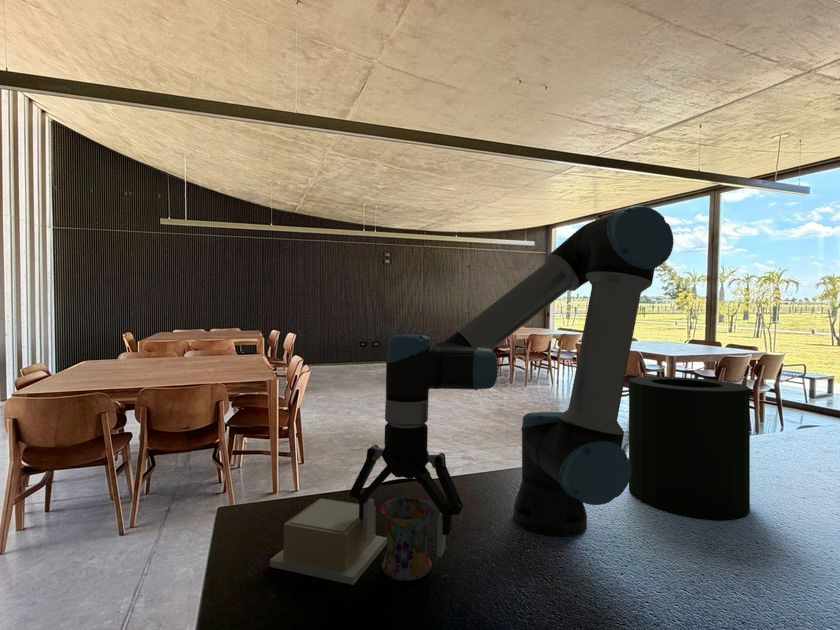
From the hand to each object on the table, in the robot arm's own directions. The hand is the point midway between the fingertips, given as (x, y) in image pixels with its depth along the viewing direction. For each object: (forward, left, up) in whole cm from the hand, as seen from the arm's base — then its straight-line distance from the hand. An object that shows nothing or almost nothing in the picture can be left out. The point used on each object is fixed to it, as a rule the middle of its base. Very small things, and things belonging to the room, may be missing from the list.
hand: (403, 545), depth 77 cm
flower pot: (-54, -51, -4) cm, 75 cm away
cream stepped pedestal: (+14, +1, -4) cm, 14 cm away
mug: (0, 0, -4) cm, 4 cm away
